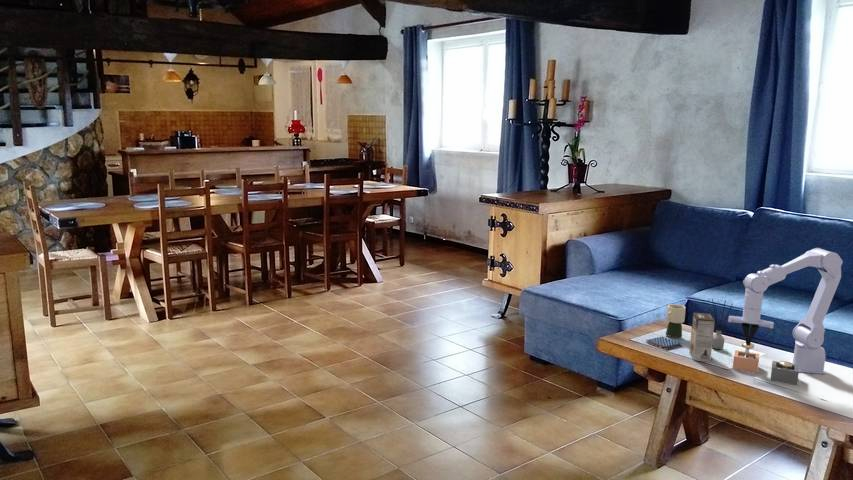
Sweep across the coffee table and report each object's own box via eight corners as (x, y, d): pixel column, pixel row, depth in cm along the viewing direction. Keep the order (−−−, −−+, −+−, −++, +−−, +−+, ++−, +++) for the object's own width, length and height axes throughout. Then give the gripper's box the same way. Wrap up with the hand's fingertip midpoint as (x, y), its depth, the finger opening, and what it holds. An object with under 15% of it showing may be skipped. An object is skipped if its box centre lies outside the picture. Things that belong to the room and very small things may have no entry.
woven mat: (661, 340, 272) (661, 335, 272) (683, 347, 264) (683, 342, 263) (643, 344, 267) (644, 339, 267) (665, 351, 258) (666, 346, 258)
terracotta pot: (757, 366, 243) (759, 354, 243) (757, 373, 236) (758, 360, 236) (733, 362, 247) (735, 350, 246) (732, 368, 240) (734, 356, 239)
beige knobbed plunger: (791, 377, 232) (793, 362, 231) (791, 381, 228) (793, 366, 227) (776, 374, 234) (777, 359, 233) (775, 378, 230) (777, 363, 229)
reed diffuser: (731, 350, 260) (736, 301, 257) (721, 354, 256) (727, 303, 253) (706, 343, 268) (711, 295, 265) (697, 346, 264) (702, 297, 261)
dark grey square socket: (796, 378, 233) (798, 365, 232) (797, 385, 226) (798, 372, 225) (770, 373, 237) (772, 360, 236) (770, 380, 230) (772, 367, 229)
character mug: (674, 332, 282) (676, 302, 280) (689, 337, 276) (692, 306, 274) (658, 336, 276) (661, 305, 273) (673, 341, 270) (676, 310, 268)
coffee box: (688, 352, 257) (692, 312, 254) (706, 354, 256) (710, 313, 253) (692, 360, 248) (697, 318, 245) (711, 362, 247) (715, 320, 244)
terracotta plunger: (754, 357, 242) (755, 343, 241) (753, 361, 238) (755, 347, 237) (739, 355, 244) (741, 341, 243) (738, 359, 240) (740, 344, 239)
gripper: (775, 308, 238) (770, 344, 240) (731, 302, 245) (726, 337, 247) (775, 312, 232) (770, 350, 234) (729, 306, 238) (725, 342, 241)
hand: (748, 344), depth 240 cm, fingers closed, pressing on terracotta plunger
